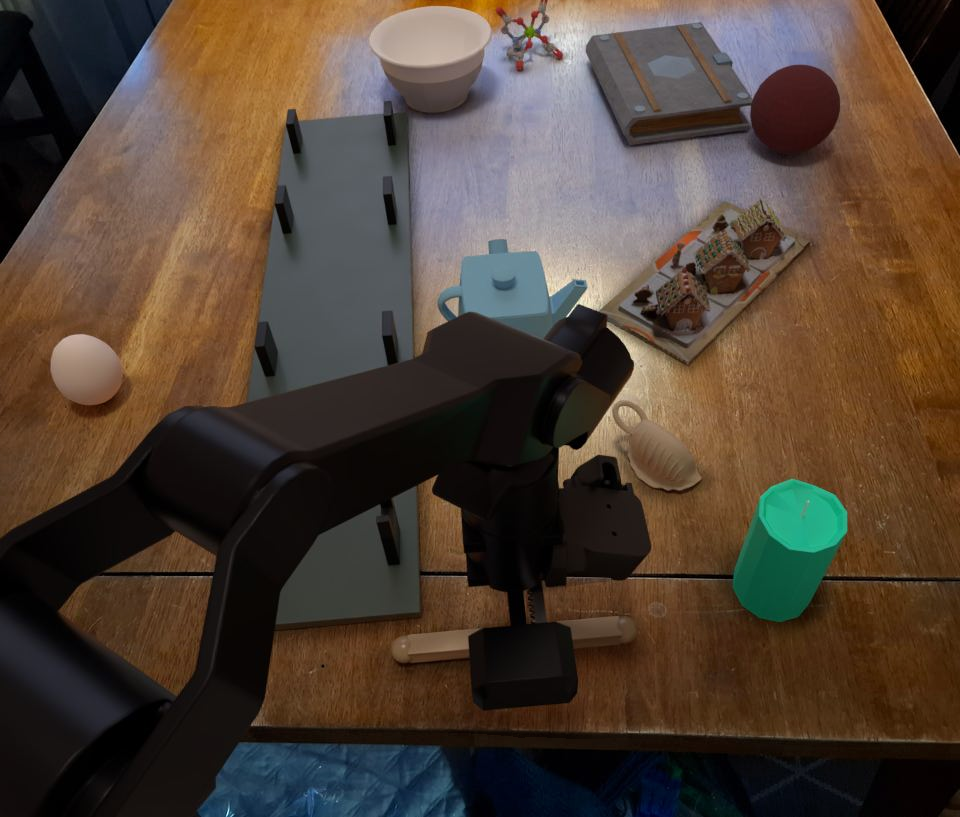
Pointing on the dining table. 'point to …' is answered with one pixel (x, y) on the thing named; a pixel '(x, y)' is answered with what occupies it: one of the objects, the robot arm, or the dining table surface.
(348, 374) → the rack
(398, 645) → the beige rounded rod
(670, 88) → the book
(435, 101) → the bowl
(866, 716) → the dining table surface
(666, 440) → the decorative ornament
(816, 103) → the decorative ball
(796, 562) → the candle
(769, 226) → the gingerbread house
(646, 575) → the dining table surface
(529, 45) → the molecular model
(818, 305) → the dining table surface
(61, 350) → the egg
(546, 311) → the teapot
